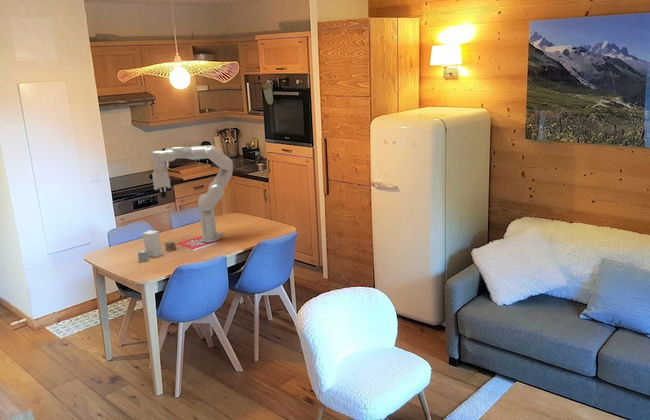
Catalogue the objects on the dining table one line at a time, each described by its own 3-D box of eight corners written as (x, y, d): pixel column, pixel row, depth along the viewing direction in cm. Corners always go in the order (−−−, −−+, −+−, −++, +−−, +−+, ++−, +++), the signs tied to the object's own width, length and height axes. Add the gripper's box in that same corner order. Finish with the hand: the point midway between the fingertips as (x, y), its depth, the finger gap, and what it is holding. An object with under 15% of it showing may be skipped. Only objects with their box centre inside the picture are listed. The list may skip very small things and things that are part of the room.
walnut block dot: (173, 248, 366) (172, 240, 365) (176, 250, 362) (175, 242, 361) (166, 250, 363) (164, 242, 362) (169, 251, 359) (167, 244, 358)
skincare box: (163, 254, 355) (159, 231, 351) (155, 257, 350) (151, 234, 346) (153, 252, 359) (150, 229, 355) (145, 256, 354) (142, 232, 350)
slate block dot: (148, 258, 348) (146, 249, 347) (147, 261, 344) (146, 252, 342) (140, 260, 348) (138, 250, 346) (139, 262, 343) (137, 253, 341)
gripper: (170, 167, 364) (174, 194, 369) (147, 170, 359) (151, 198, 363) (172, 169, 357) (176, 197, 362) (148, 172, 352) (152, 200, 357)
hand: (163, 197), depth 363 cm, fingers closed
